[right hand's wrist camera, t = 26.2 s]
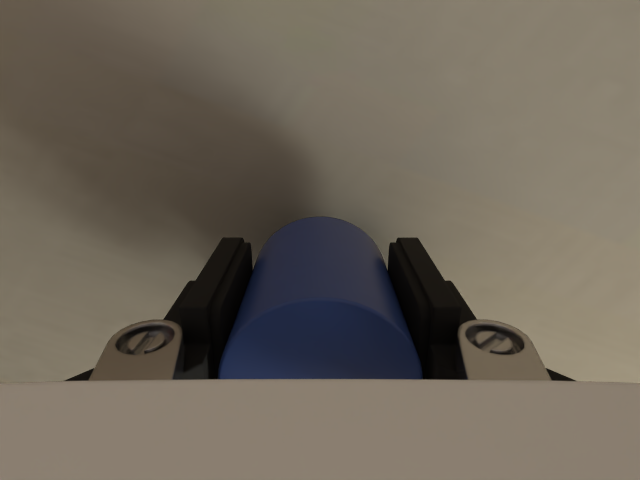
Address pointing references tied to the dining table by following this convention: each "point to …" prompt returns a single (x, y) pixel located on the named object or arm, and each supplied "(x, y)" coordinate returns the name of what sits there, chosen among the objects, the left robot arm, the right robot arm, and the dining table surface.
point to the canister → (320, 310)
